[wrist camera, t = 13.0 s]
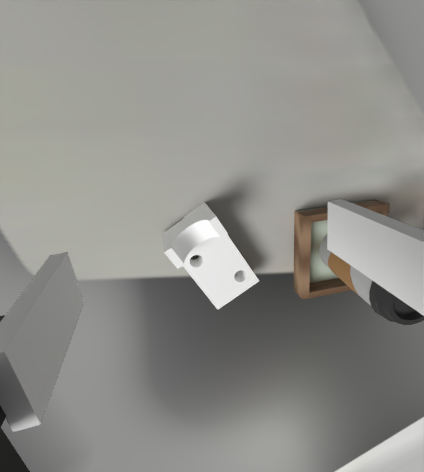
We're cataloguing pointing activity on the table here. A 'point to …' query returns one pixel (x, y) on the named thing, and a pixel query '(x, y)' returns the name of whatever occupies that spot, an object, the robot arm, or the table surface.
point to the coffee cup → (370, 290)
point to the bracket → (208, 256)
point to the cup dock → (307, 251)
